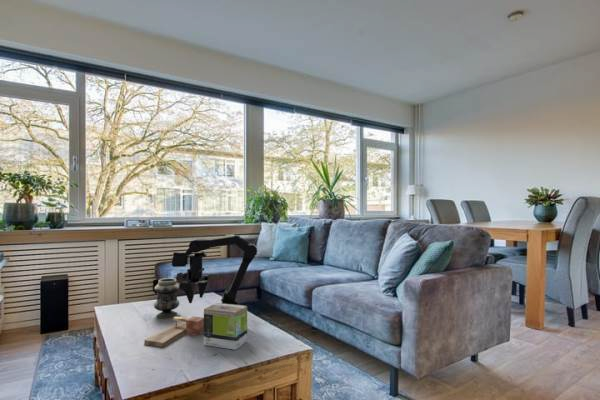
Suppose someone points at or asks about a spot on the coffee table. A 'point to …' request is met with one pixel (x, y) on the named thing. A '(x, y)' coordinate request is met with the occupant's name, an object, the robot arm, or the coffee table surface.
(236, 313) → the tea box
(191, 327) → the terracotta strapped cube
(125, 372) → the coffee table surface
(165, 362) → the coffee table surface
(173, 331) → the board
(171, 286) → the apothecary jar
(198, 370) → the coffee table surface
